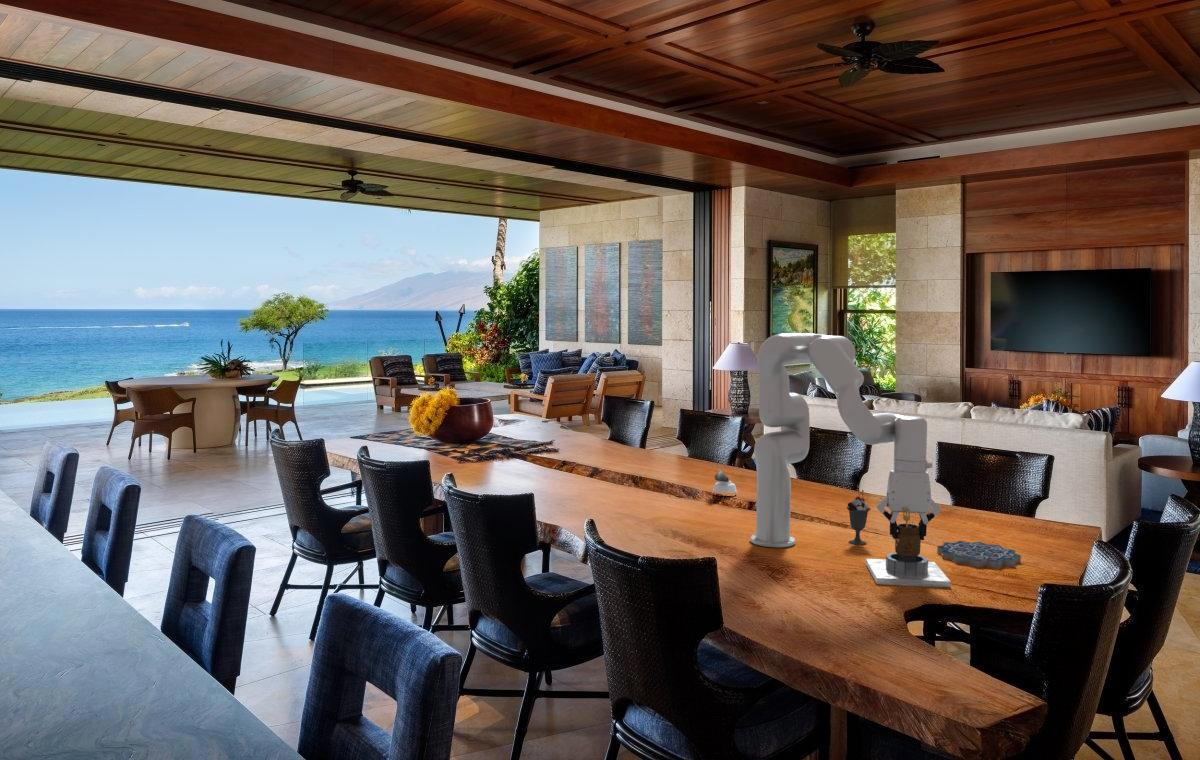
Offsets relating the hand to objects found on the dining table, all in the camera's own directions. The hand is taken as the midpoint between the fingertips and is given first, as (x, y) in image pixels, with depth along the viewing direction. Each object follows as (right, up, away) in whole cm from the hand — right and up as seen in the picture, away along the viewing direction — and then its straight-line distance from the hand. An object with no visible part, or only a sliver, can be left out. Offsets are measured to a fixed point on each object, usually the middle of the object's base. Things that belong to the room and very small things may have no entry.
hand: (907, 537), depth 211 cm
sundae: (-3, -8, +32) cm, 33 cm away
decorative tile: (+25, -9, +18) cm, 32 cm away
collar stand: (0, -10, +1) cm, 10 cm away
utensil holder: (0, -4, 0) cm, 4 cm away
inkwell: (-32, -3, +94) cm, 100 cm away
